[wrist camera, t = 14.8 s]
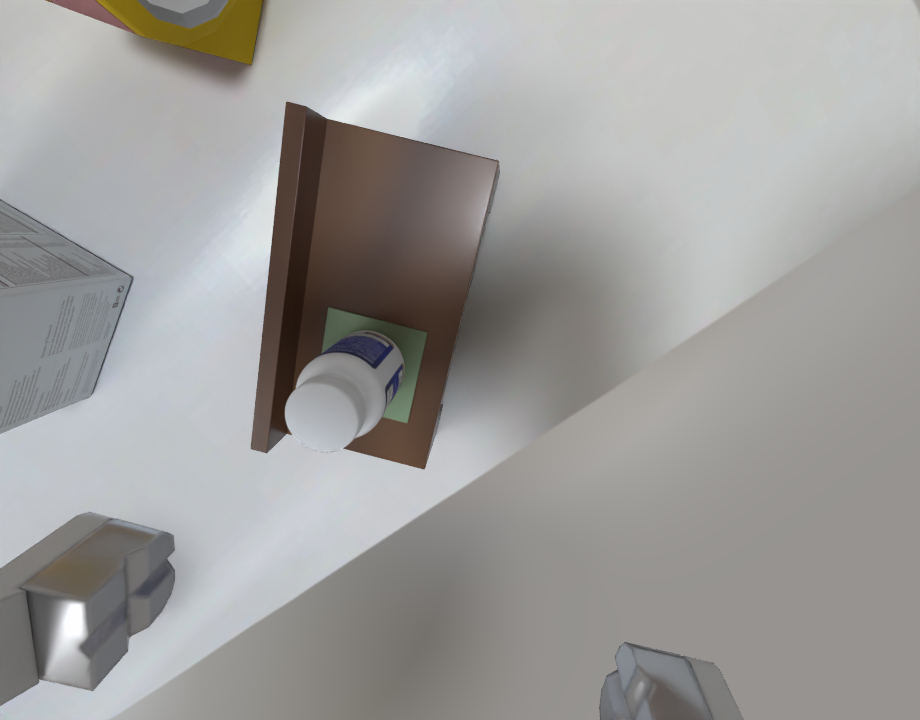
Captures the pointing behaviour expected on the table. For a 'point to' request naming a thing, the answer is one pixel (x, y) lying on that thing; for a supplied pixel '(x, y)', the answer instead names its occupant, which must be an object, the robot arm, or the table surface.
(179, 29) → the alarm clock
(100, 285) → the supplement box
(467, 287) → the shelf
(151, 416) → the table surface
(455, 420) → the table surface
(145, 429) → the table surface
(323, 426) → the pill bottle
